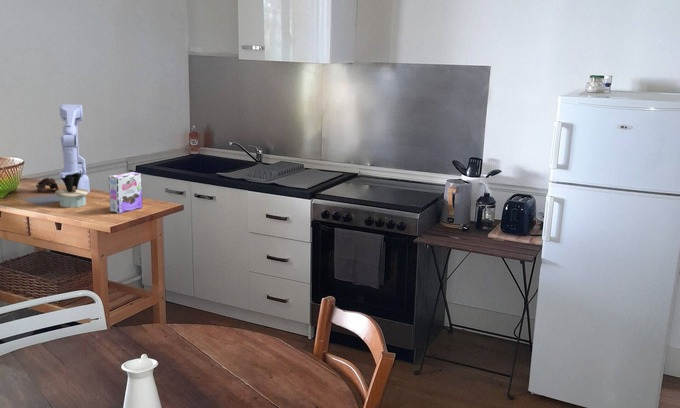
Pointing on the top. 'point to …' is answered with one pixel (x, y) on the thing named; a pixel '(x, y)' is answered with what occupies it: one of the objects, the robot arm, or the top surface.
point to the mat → (43, 199)
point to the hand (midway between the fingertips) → (72, 190)
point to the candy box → (125, 192)
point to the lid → (71, 194)
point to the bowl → (72, 201)
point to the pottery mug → (47, 184)
